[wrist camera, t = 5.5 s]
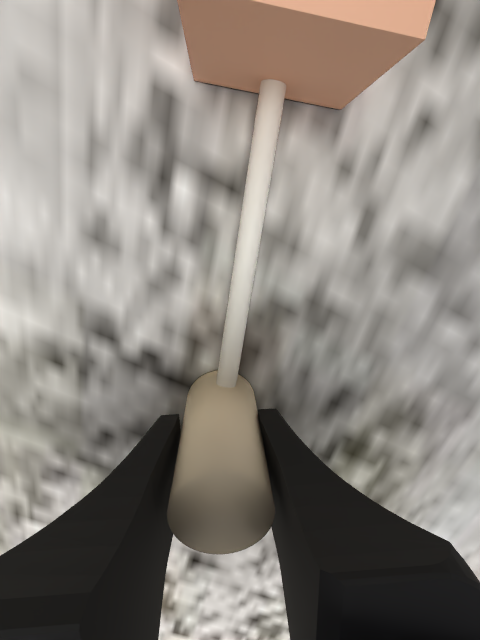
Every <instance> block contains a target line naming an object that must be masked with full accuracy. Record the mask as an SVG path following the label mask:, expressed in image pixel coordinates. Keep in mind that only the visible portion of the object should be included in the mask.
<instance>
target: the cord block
mask: <svg viewBox="0 0 480 640" xmlns="http://www.w3.org/2000/svg"><path fill="white" fill-rule="evenodd" d="M177 1H178V6H179V10H180V15H181V20H182V25H183V30H184V35H185V40H186V44H187V49H188V54H189V59H190V64H191V69H192V73H193V78H194V81H199V82H204V83H209V84H214V85H219V86H224V87H229V88H235V89H240V90H245V91H250V92H255V93H259V97H258V104H257V111H256V117H255V124H254V131H253V138H252V144H251V151H250V158H249V164H248V171H247V178H246V185H245V191H244V198H243V205H242V212H241V218H240V225H239V232H238V239H237V245H236V252H235V259H234V265H233V272H232V279H231V286H230V292H229V299H228V306H227V313H226V319H225V326H224V333H223V340H222V346H221V353H220V360H219V366H218V371H212V372H209V373H206V374H204V375H202V376H201V377H199V378H198V379H197V380H196V381H195V382H194V383H193V384H192V386H191V388H190V390H189V392H188V396H187V402H186V408H185V413H184V419H183V424H182V430H181V436H180V441H179V447H178V453H177V458H176V464H175V470H174V475H173V481H172V486H171V492H170V498H169V503H168V509H167V519H168V524H169V527H170V529H171V531H172V532H173V534H174V535H175V537H176V538H177V539H178V540H179V541H181V542H182V543H183V544H185V545H186V546H188V547H190V548H192V549H194V550H197V551H200V552H203V553H209V554H229V553H234V552H238V551H241V550H244V549H246V548H248V547H250V546H252V545H254V544H255V543H257V542H258V541H259V540H261V539H262V538H263V537H264V536H265V535H266V534H267V532H268V531H269V529H270V528H271V526H272V523H273V520H274V516H275V505H274V500H273V494H272V489H271V484H270V478H269V473H268V467H267V462H266V456H265V451H264V445H263V440H262V435H261V429H260V424H259V418H258V412H257V407H256V401H255V396H254V391H253V389H252V387H251V385H250V384H249V382H248V381H247V380H246V379H245V378H243V377H242V376H240V375H239V374H238V371H239V365H240V359H241V353H242V347H243V341H244V335H245V329H246V323H247V317H248V311H249V305H250V300H251V294H252V288H253V282H254V276H255V270H256V264H257V258H258V252H259V246H260V240H261V234H262V228H263V223H264V217H265V211H266V205H267V199H268V193H269V187H270V181H271V175H272V169H273V163H274V157H275V152H276V146H277V140H278V134H279V128H280V122H281V116H282V110H283V104H284V98H285V99H290V100H295V101H300V102H305V103H310V104H315V105H320V106H325V107H330V108H335V109H340V110H341V109H342V108H343V107H345V106H346V105H347V104H348V103H349V102H351V101H352V100H353V99H354V98H355V97H357V96H358V95H359V94H360V93H361V92H363V91H364V90H365V89H366V88H367V87H369V86H370V85H371V84H372V83H373V82H375V81H376V80H377V79H378V78H379V77H381V76H382V75H383V74H384V73H385V72H387V71H388V70H389V69H390V68H392V67H393V66H394V65H395V64H396V63H398V62H399V61H400V60H401V59H402V58H404V57H405V56H406V55H407V54H408V53H410V52H411V51H412V50H413V49H414V48H416V47H417V46H418V45H419V44H420V43H422V42H423V41H424V40H425V38H426V35H427V31H428V27H429V23H430V20H431V16H432V12H433V8H434V5H435V1H436V0H177Z"/></svg>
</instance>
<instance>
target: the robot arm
mask: <svg viewBox="0 0 480 640" xmlns="http://www.w3.org/2000/svg"><path fill="white" fill-rule="evenodd" d="M258 418H259V424H260V429H261V435H262V440H263V445H264V451H265V456H266V462H267V467H268V473H269V478H270V484H271V489H272V494H273V500H274V505H275V516H274V520H273V523H272V526H271V527H272V531H273V535H274V540H275V544H276V548H277V553H278V558H279V563H280V569H281V576H282V583H283V590H284V597H285V604H286V611H287V618H288V626H289V633H290V640H480V582H479V580H478V579H477V577H476V576H475V574H474V573H473V571H472V570H471V569H470V567H469V566H468V565H467V563H466V562H465V560H464V559H463V558H462V557H461V556H460V554H459V553H458V552H457V551H456V550H455V548H454V547H453V546H452V544H451V543H450V542H449V541H447V540H445V539H443V538H440V537H438V536H436V535H434V534H432V533H430V532H428V531H426V530H424V529H422V528H420V527H418V526H416V525H414V524H412V523H410V522H408V521H406V520H404V519H403V518H401V517H399V516H397V515H396V514H394V513H392V512H391V511H389V510H387V509H385V508H384V507H382V506H380V505H379V504H377V503H376V502H374V501H372V500H371V499H369V498H368V497H367V496H365V495H364V494H362V493H361V492H359V491H358V490H356V489H355V488H353V487H352V486H351V485H349V484H348V483H347V482H345V481H344V480H343V479H342V478H340V477H339V476H338V475H337V474H335V473H334V472H333V471H332V470H331V469H330V468H328V467H327V466H326V465H325V464H324V463H323V462H322V461H321V460H320V459H319V458H318V457H317V456H316V455H315V454H314V453H313V452H312V451H311V450H310V449H309V448H308V447H307V446H306V445H305V444H304V443H303V441H302V440H301V439H300V438H299V437H298V436H297V435H296V434H295V432H294V431H293V430H292V429H291V428H290V426H289V425H288V424H287V423H286V421H285V420H284V419H283V417H282V416H281V415H280V413H279V412H278V411H277V410H276V409H259V410H258ZM180 436H181V429H180V419H179V414H176V415H161V416H160V417H159V418H158V420H157V421H156V422H155V423H154V425H153V426H152V427H151V428H150V430H149V431H148V432H147V433H146V435H145V436H144V437H143V438H142V439H141V441H140V442H139V443H138V444H137V445H136V446H135V448H134V449H133V450H132V451H131V452H130V453H129V455H128V456H127V457H126V458H125V459H124V460H123V461H122V462H121V463H120V464H119V465H118V466H117V467H116V468H115V469H114V470H113V471H112V473H111V474H110V475H109V476H108V477H107V478H105V479H104V480H103V481H102V482H101V483H100V484H99V485H98V486H97V487H96V488H95V489H93V490H92V491H91V492H90V493H89V494H88V495H87V496H85V497H84V498H83V499H82V500H80V501H79V502H78V503H77V504H75V505H74V506H73V507H71V508H70V509H69V510H67V511H66V512H65V513H63V514H62V515H61V516H60V517H58V518H57V519H56V520H54V521H53V522H52V523H50V524H49V525H47V526H46V527H44V528H43V529H41V530H40V531H39V532H37V533H36V534H34V535H33V536H31V537H29V538H28V539H26V540H25V541H23V542H22V543H20V544H19V545H17V546H16V547H14V548H12V549H11V550H9V551H7V552H6V553H4V554H2V555H1V556H0V640H158V636H159V627H160V617H161V608H162V599H163V590H164V582H165V574H166V568H167V562H168V557H169V552H170V547H171V542H172V537H173V532H172V531H171V529H170V527H169V524H168V519H167V509H168V503H169V498H170V492H171V486H172V481H173V475H174V470H175V464H176V458H177V453H178V447H179V441H180Z"/></svg>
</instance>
